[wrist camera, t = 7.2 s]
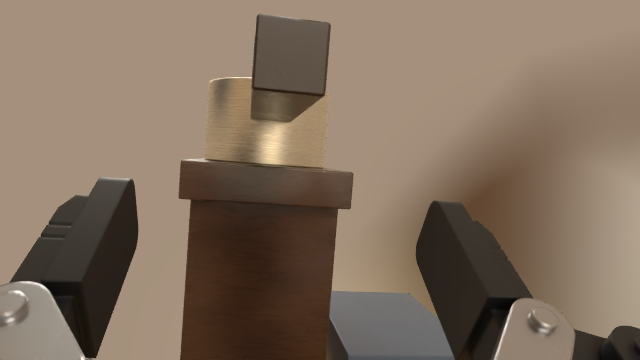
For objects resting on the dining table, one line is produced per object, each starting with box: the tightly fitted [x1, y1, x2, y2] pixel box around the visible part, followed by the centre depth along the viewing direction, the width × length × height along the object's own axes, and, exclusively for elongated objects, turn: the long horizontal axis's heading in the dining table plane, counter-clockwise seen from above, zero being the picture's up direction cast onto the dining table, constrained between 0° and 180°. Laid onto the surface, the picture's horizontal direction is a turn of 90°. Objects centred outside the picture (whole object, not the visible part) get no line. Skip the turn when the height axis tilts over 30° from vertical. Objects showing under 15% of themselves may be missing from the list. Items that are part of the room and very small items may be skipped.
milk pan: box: [204, 14, 331, 168], centre depth 24 cm, size 8×20×5 cm, turn 9°
